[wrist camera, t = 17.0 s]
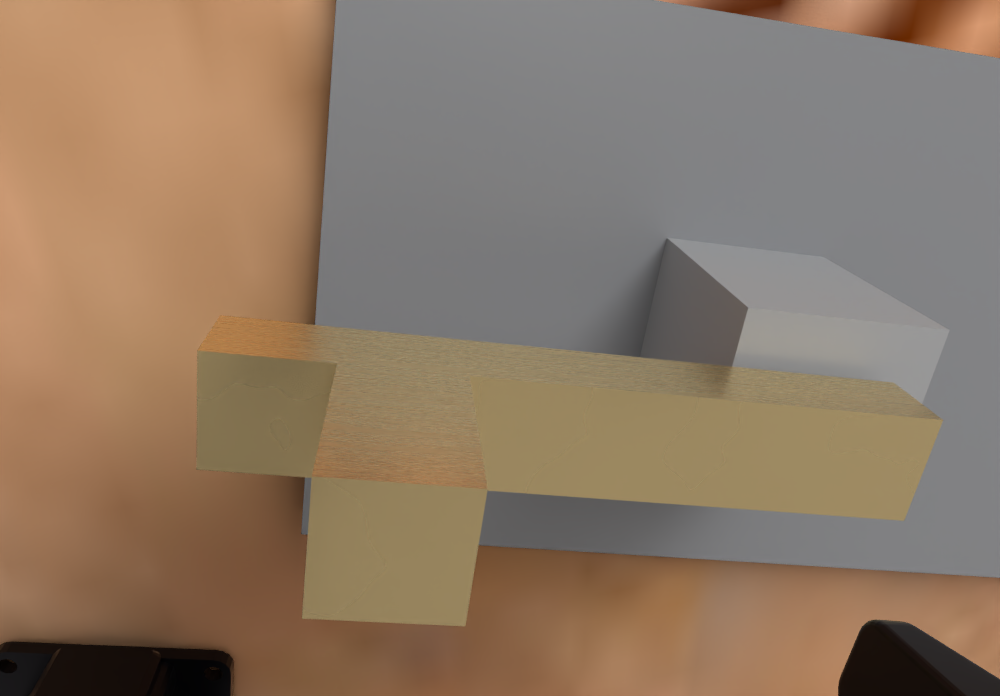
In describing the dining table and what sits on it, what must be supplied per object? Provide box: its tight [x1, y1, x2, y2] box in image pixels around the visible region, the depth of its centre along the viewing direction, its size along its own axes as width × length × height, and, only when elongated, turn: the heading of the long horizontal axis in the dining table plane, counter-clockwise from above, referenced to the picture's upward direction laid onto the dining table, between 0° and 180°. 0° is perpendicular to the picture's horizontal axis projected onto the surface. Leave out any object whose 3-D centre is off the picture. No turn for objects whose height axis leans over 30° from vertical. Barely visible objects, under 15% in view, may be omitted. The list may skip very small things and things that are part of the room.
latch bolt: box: [196, 315, 943, 626], centre depth 12 cm, size 2×12×5 cm, turn 82°
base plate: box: [301, 0, 1000, 578], centre depth 18 cm, size 14×24×6 cm, turn 82°
